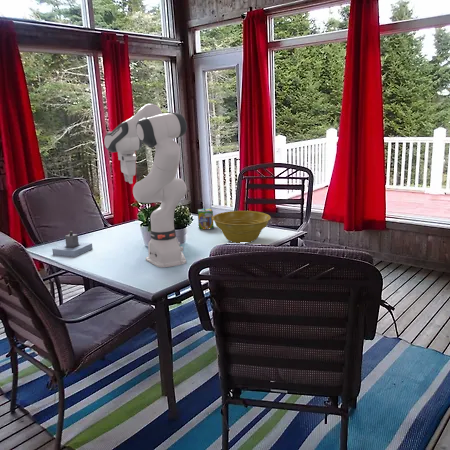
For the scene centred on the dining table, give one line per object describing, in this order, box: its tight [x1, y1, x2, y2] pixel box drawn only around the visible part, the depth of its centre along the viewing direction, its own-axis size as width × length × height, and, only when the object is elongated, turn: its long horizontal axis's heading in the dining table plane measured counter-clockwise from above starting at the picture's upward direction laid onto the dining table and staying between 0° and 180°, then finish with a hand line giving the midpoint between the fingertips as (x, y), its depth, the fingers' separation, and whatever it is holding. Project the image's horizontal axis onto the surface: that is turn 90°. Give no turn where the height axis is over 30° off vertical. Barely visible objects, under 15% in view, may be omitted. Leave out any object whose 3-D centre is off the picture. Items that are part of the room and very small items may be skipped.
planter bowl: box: [212, 210, 272, 244], centre depth 230 cm, size 32×32×13 cm
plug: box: [64, 230, 80, 248], centre depth 217 cm, size 4×4×11 cm
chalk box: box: [197, 204, 215, 230], centre depth 258 cm, size 9×9×15 cm
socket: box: [52, 241, 94, 258], centre depth 218 cm, size 14×14×3 cm
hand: (128, 182), depth 222 cm, fingers open, 8 cm apart
